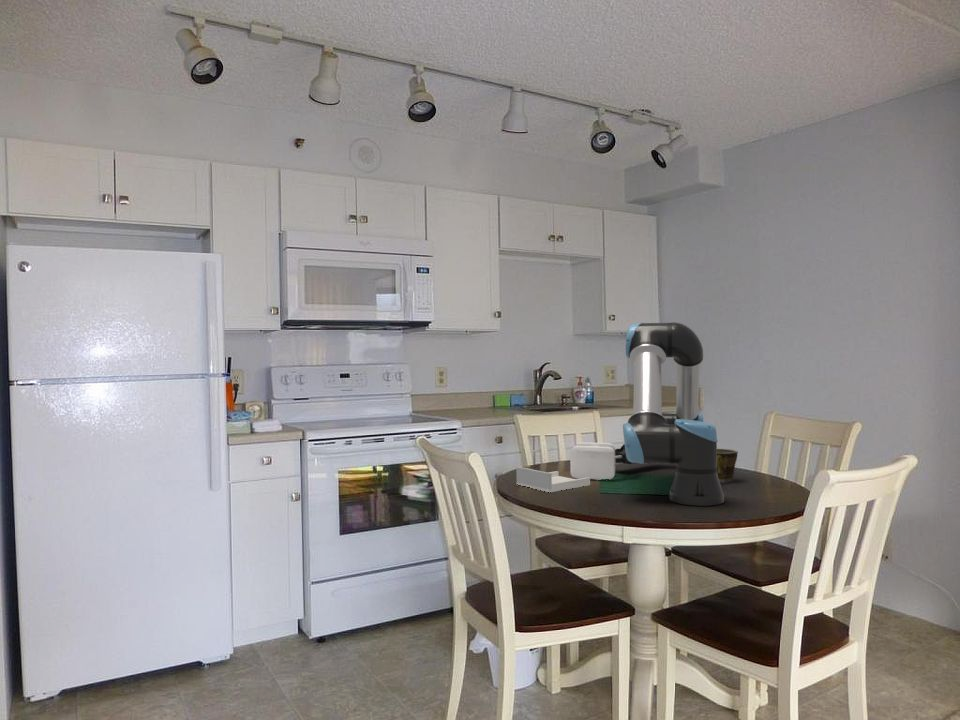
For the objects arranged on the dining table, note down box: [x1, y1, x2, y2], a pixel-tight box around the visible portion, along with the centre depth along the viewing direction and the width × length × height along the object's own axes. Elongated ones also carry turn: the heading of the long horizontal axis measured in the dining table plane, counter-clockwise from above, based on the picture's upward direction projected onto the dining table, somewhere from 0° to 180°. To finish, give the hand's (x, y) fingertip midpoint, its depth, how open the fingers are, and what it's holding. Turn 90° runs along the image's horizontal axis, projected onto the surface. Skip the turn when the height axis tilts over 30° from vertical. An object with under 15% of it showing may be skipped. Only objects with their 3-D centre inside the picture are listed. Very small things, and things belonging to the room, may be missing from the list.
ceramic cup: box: [717, 448, 738, 484], centre depth 229 cm, size 13×10×10 cm
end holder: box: [515, 466, 591, 493], centre depth 227 cm, size 16×18×6 cm
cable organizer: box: [569, 441, 616, 481], centre depth 239 cm, size 15×11×12 cm
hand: (593, 459), depth 238 cm, fingers open, 13 cm apart
